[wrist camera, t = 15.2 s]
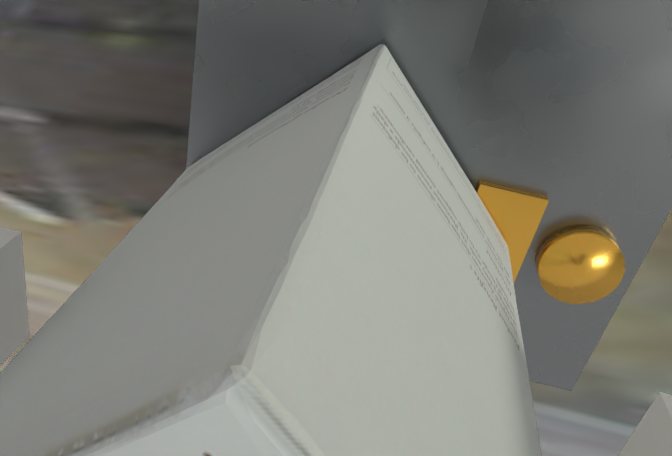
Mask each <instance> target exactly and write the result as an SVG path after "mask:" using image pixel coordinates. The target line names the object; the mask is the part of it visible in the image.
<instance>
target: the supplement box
mask: <svg viewBox="0 0 672 456" xmlns="http://www.w3.org/2000/svg"><path fill="white" fill-rule="evenodd" d="M0 456H542V453H541V447H540V441H539V435H538V429H537V423H536V418H535V412H534V406H533V400H532V394H531V388H530V381H529V375H528V369H527V363H526V357H525V351H524V345H523V339H522V333H521V327H520V321H519V315H518V309H517V303H516V296H515V289H514V283H513V276H512V268H511V262H510V256H509V248H508V246H507V244H506V242H505V240H504V238H503V237H502V235H501V233H500V231H499V230H498V228H497V226H496V224H495V223H494V221H493V219H492V217H491V216H490V214H489V212H488V211H487V209H486V207H485V206H484V204H483V202H482V201H481V199H480V198H479V196H478V194H477V193H476V191H475V189H474V188H473V186H472V184H471V183H470V181H469V179H468V178H467V176H466V175H465V173H464V171H463V170H462V168H461V167H460V165H459V163H458V162H457V160H456V158H455V157H454V155H453V154H452V152H451V150H450V149H449V147H448V146H447V144H446V142H445V141H444V139H443V138H442V136H441V134H440V133H439V131H438V129H437V128H436V126H435V125H434V123H433V121H432V120H431V118H430V117H429V115H428V113H427V112H426V110H425V109H424V107H423V105H422V104H421V102H420V100H419V99H418V97H417V96H416V94H415V92H414V91H413V89H412V88H411V86H410V84H409V83H408V81H407V80H406V78H405V76H404V75H403V73H402V72H401V70H400V68H399V67H398V65H397V64H396V62H395V60H394V59H393V57H392V55H391V54H390V52H389V50H388V48H387V47H386V46H385V45H384V44H380V45H378V46H377V47H375V48H374V49H372V50H371V51H369V52H368V53H366V54H365V55H363V56H361V57H360V58H358V59H357V60H355V61H354V62H352V63H351V64H349V65H347V66H346V67H344V68H342V69H341V70H340V71H338V72H336V73H335V74H333V75H332V76H330V77H329V78H327V79H325V80H324V81H322V82H321V83H319V84H318V85H316V86H314V87H313V88H311V89H310V90H308V91H306V92H305V93H303V94H302V95H300V96H299V97H297V98H295V99H294V100H292V101H291V102H289V103H288V104H286V105H284V106H283V107H281V108H280V109H278V110H276V111H275V112H273V113H272V114H270V115H269V116H267V117H265V118H264V119H262V120H261V121H259V122H258V123H256V124H254V125H253V126H251V127H250V128H248V129H247V130H245V131H243V132H242V133H240V134H239V135H237V136H236V137H234V138H232V139H231V140H229V141H228V142H226V143H225V144H223V145H221V146H220V147H218V148H217V149H215V150H214V151H212V152H211V153H209V154H208V155H206V156H204V157H203V158H201V159H200V160H198V161H197V162H195V163H194V164H193V165H191V166H189V167H188V168H187V169H186V170H185V171H184V172H183V173H182V174H181V176H180V177H179V178H178V179H177V180H176V181H175V183H174V184H173V185H172V186H171V187H170V188H169V189H168V190H167V191H166V193H165V194H164V195H163V196H162V197H161V198H160V199H159V200H158V201H157V202H156V204H155V205H154V206H153V207H152V208H151V209H150V210H149V211H148V212H147V213H146V214H145V216H144V217H143V218H142V219H141V220H140V221H139V222H138V223H137V224H136V225H135V226H134V227H133V228H132V230H131V231H130V232H129V233H128V234H127V235H126V237H125V238H124V239H123V240H122V241H121V242H120V243H119V244H118V245H117V246H116V248H115V249H114V250H113V251H112V252H111V253H110V254H109V255H108V256H107V257H106V259H105V260H104V261H103V262H102V263H101V264H100V265H99V266H98V267H97V268H96V269H95V271H94V272H93V273H92V274H91V275H90V276H89V277H88V278H87V279H86V280H85V282H84V283H83V284H82V285H81V286H80V287H79V288H78V289H77V290H76V291H75V292H74V293H73V294H72V295H71V296H70V298H69V299H68V300H67V301H66V302H65V303H64V304H63V305H62V306H61V307H60V308H59V309H58V310H57V311H56V313H55V314H54V315H53V316H52V317H51V318H50V319H49V320H48V321H47V322H46V324H45V325H44V326H43V327H42V328H41V329H40V330H39V331H38V332H37V333H36V334H35V336H34V337H33V338H32V339H31V340H30V341H29V342H28V343H27V344H26V345H25V347H24V348H23V349H22V350H21V351H20V352H19V353H18V354H17V355H16V357H15V358H14V359H13V360H12V361H11V362H10V363H9V364H8V365H7V366H6V367H5V369H4V370H3V371H2V372H1V373H0Z"/></svg>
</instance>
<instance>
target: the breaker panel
mask: <svg viewBox="0 0 672 456" xmlns="http://www.w3.org/2000/svg"><path fill="white" fill-rule="evenodd" d="M380 44H384V45H385V46H386V47H387V48H388V50H389V52H390V54H391V55H392V57H393V59H394V60H395V62H396V64H397V65H398V67H399V68H400V70H401V72H402V73H403V75H404V76H405V78H406V80H407V81H408V83H409V84H410V86H411V88H412V89H413V91H414V92H415V94H416V96H417V97H418V99H419V100H420V102H421V104H422V105H423V107H424V109H425V110H426V112H427V113H428V115H429V117H430V118H431V120H432V121H433V123H434V125H435V126H436V128H437V129H438V131H439V133H440V134H441V136H442V138H443V139H444V141H445V142H446V144H447V146H448V147H449V149H450V150H451V152H452V154H453V155H454V157H455V158H456V160H457V162H458V163H459V165H460V167H461V168H462V170H463V171H464V173H465V175H466V176H467V178H468V179H469V181H470V183H471V184H472V186H473V188H474V189H475V191H476V193H477V194H478V196H479V198H480V199H481V201H482V202H483V204H484V206H485V207H486V209H487V211H488V212H489V214H490V216H491V217H492V219H493V221H494V223H495V224H496V226H497V228H498V230H499V231H500V233H501V235H502V237H503V238H504V240H505V242H506V244H507V246H508V248H509V256H510V262H511V268H512V276H513V283H514V289H515V296H516V303H517V309H518V315H519V321H520V327H521V333H522V339H523V345H524V351H525V357H526V363H527V369H528V375H529V381H532V382H536V383H540V384H545V385H549V386H553V387H557V388H561V389H565V390H569V391H571V390H572V388H573V386H574V385H575V383H576V381H577V379H578V377H579V376H580V374H581V372H582V370H583V368H584V366H585V365H586V363H587V361H588V359H589V357H590V356H591V354H592V352H593V350H594V348H595V346H596V345H597V343H598V341H599V339H600V337H601V336H602V334H603V332H604V330H605V328H606V326H607V325H608V323H609V321H610V319H611V317H612V315H613V314H614V312H615V310H616V308H617V306H618V305H619V303H620V301H621V299H622V297H623V295H624V294H625V292H626V290H627V288H628V286H629V285H630V283H631V281H632V279H633V277H634V275H635V274H636V272H637V270H638V268H639V266H640V265H641V263H642V261H643V259H644V257H645V255H646V254H647V252H648V250H649V248H650V246H651V245H652V243H653V241H654V239H655V237H656V235H657V234H658V232H659V230H660V228H661V226H662V224H663V223H664V221H665V219H666V217H667V215H668V214H669V212H670V210H671V208H672V0H199V5H198V18H197V31H196V44H195V57H194V70H193V83H192V96H191V109H190V122H189V135H188V148H187V162H186V169H187V168H188V167H189V166H191V165H193V164H194V163H195V162H197V161H198V160H200V159H201V158H203V157H204V156H206V155H208V154H209V153H211V152H212V151H214V150H215V149H217V148H218V147H220V146H221V145H223V144H225V143H226V142H228V141H229V140H231V139H232V138H234V137H236V136H237V135H239V134H240V133H242V132H243V131H245V130H247V129H248V128H250V127H251V126H253V125H254V124H256V123H258V122H259V121H261V120H262V119H264V118H265V117H267V116H269V115H270V114H272V113H273V112H275V111H276V110H278V109H280V108H281V107H283V106H284V105H286V104H288V103H289V102H291V101H292V100H294V99H295V98H297V97H299V96H300V95H302V94H303V93H305V92H306V91H308V90H310V89H311V88H313V87H314V86H316V85H318V84H319V83H321V82H322V81H324V80H325V79H327V78H329V77H330V76H332V75H333V74H335V73H336V72H338V71H340V70H341V69H342V68H344V67H346V66H347V65H349V64H351V63H352V62H354V61H355V60H357V59H358V58H360V57H361V56H363V55H365V54H366V53H368V52H369V51H371V50H372V49H374V48H375V47H377V46H378V45H380Z"/></svg>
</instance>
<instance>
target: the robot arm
mask: <svg viewBox="0 0 672 456" xmlns="http://www.w3.org/2000/svg"><path fill="white" fill-rule="evenodd" d="M28 335H29V323H28V310H27V298H26V285H25V273H24V260H23V248H22V235H21V232H20V231H16V230H12V229H8V228H4V227H0V366H1V365H2V364H3V363H4V362H5V361H6V359H7V358H8V357H9V356H10V355H11V354H12V353H13V352H14V351H15V350H16V349H17V347H18V346H19V345H20V344H21V343H22V342H23V341H24V340H25V339H26V338H27V337H28ZM618 456H672V395H670V394H666V393H662V392H659V394H658V395H657V397H656V398H655V400H654V401H653V403H652V404H651V406H650V407H649V409H648V410H647V412H646V413H645V415H644V417H643V418H642V420H641V421H640V423H639V424H638V426H637V427H636V429H635V430H634V432H633V433H632V435H631V436H630V438H629V440H628V441H627V443H626V444H625V446H624V447H623V449H622V450H621V452H620V453H619V455H618Z"/></svg>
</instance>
